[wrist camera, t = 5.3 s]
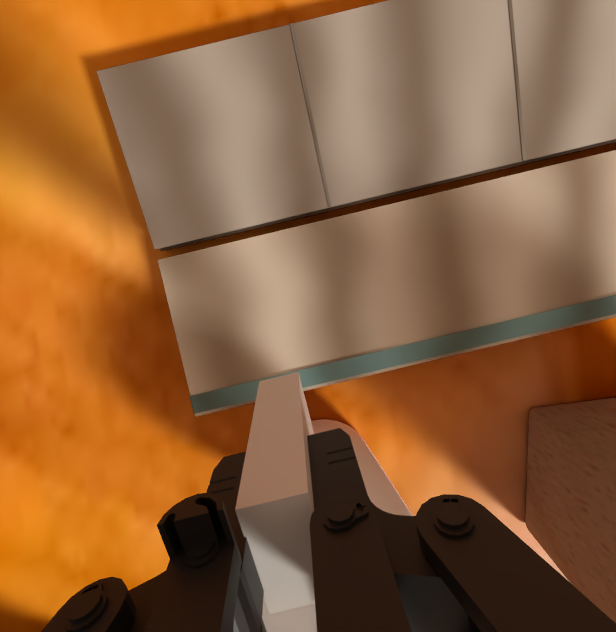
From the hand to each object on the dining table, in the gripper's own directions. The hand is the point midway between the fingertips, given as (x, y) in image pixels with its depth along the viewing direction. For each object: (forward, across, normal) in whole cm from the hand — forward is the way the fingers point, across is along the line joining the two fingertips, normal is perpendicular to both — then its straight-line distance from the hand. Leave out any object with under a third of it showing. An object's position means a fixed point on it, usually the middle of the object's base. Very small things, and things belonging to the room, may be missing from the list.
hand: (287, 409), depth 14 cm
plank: (+9, +9, +2) cm, 13 cm away
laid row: (+10, +9, +12) cm, 18 cm away
